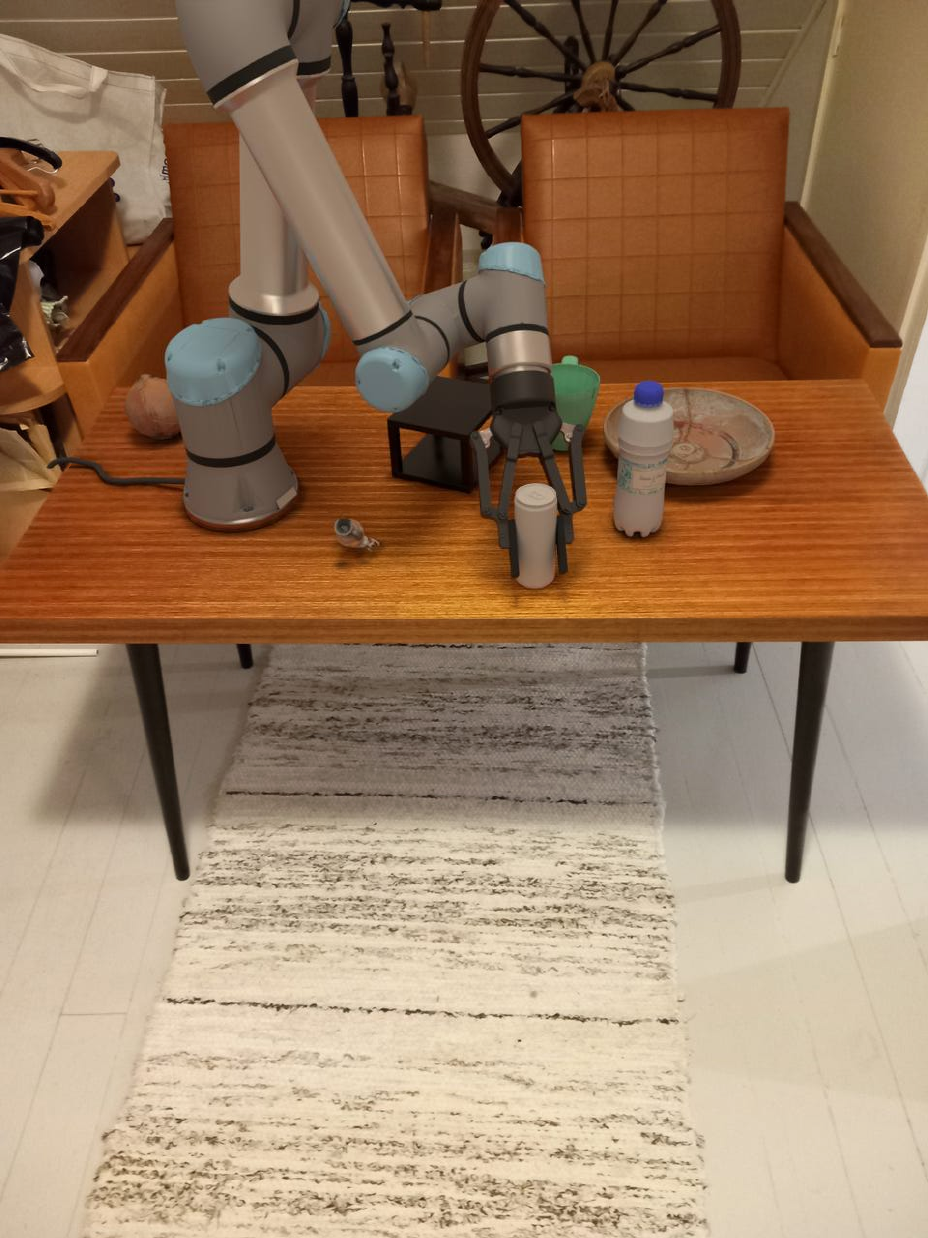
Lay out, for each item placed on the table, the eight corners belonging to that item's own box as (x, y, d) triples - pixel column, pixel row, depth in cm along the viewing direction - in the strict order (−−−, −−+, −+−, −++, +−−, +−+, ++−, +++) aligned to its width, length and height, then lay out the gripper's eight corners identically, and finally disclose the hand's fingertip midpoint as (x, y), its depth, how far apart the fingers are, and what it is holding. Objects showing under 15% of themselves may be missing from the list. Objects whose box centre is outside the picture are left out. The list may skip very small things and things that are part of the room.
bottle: (622, 546, 123) (634, 400, 110) (602, 517, 128) (612, 374, 115) (671, 536, 124) (690, 391, 111) (650, 508, 129) (665, 366, 116)
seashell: (361, 570, 121) (355, 530, 117) (322, 561, 123) (316, 521, 119) (381, 546, 125) (377, 506, 121) (343, 537, 126) (338, 498, 123)
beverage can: (530, 561, 121) (531, 477, 113) (562, 576, 119) (565, 491, 111) (506, 581, 118) (505, 496, 111) (539, 596, 116) (540, 510, 108)
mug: (594, 461, 139) (598, 396, 132) (525, 457, 140) (525, 393, 134) (600, 411, 150) (604, 349, 143) (536, 408, 151) (537, 347, 145)
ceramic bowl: (566, 452, 141) (567, 421, 138) (682, 401, 151) (685, 371, 148) (686, 523, 126) (691, 490, 123) (805, 462, 137) (812, 430, 133)
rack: (391, 476, 137) (386, 418, 132) (436, 430, 147) (433, 374, 141) (470, 494, 133) (468, 435, 127) (510, 445, 143) (510, 388, 137)
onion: (153, 443, 153) (127, 380, 150) (209, 425, 151) (183, 361, 149) (130, 453, 144) (102, 386, 141) (188, 434, 143) (161, 366, 140)
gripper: (591, 383, 120) (610, 573, 118) (444, 393, 119) (461, 585, 117) (602, 361, 112) (622, 563, 110) (445, 372, 111) (463, 576, 109)
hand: (539, 574), depth 113 cm, fingers closed on beverage can, 5 cm apart
